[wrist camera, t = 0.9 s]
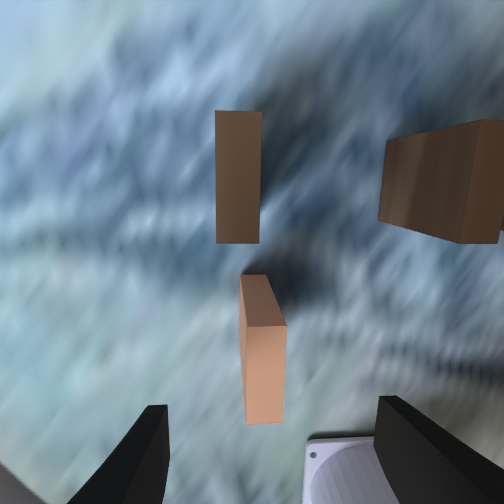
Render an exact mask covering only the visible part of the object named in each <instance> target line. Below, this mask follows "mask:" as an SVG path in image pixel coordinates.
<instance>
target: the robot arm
mask: <svg viewBox="0 0 504 504" xmlns="http://www.w3.org/2000/svg"><path fill="white" fill-rule="evenodd" d="M312 452H314V453H312ZM169 460H170V445H169V426H168V407H167V405H148V406H147V407H146V408H145V409H144V411H143V412H142V414H141V415H140V416H139V418H138V419H137V421H136V422H135V423H134V425H133V426H132V427H131V429H130V430H129V431H128V433H127V434H126V435H125V437H124V438H123V439H122V440H121V442H120V443H119V444H118V445H117V447H116V448H115V449H114V450H113V452H112V453H111V454H110V455H109V457H108V458H107V459H106V460H105V461H104V463H103V464H102V465H101V466H100V467H99V468H98V470H97V471H96V472H95V473H94V474H93V475H92V476H91V478H90V479H89V480H88V481H87V482H86V483H85V484H84V485H83V487H82V488H81V489H80V490H79V491H78V492H77V493H76V494H75V495H74V496H73V497H72V498H71V500H70V501H69V502H68V503H67V504H162V501H163V497H164V493H165V487H166V481H167V474H168V467H169ZM302 504H504V469H502V468H501V467H499V466H497V465H496V464H494V463H493V462H491V461H490V460H488V459H487V458H485V457H484V456H482V455H481V454H479V453H477V452H476V451H474V450H473V449H472V448H470V447H469V446H467V445H466V444H464V443H463V442H461V441H460V440H458V439H457V438H456V437H454V436H453V435H451V434H450V433H448V432H447V431H446V430H444V429H443V428H441V427H440V426H439V425H437V424H436V423H434V422H433V421H432V420H430V419H429V418H428V417H426V416H425V415H423V414H422V413H421V412H419V411H418V410H417V409H415V408H414V407H412V406H411V405H410V404H408V403H407V402H405V401H404V400H402V399H401V398H399V397H398V396H396V395H395V396H379V402H378V410H377V418H376V426H375V434H374V436H370V437H351V438H331V439H312V440H309V441H308V442H307V443H306V449H305V464H304V479H303V494H302Z"/></svg>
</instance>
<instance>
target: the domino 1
mask: <svg viewBox="0 0 504 504" xmlns="http://www.w3.org/2000/svg"><path fill="white" fill-rule="evenodd" d="M261 136H262V112H248V111H218V110H215V161H216V244H259V226H260V181H261Z"/></svg>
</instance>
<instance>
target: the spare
mask: <svg viewBox="0 0 504 504" xmlns="http://www.w3.org/2000/svg"><path fill="white" fill-rule="evenodd" d="M286 337H287V325H286V322H285V320H284V317H283V315H282V313H281V310H280V308H279V305H278V303H277V300H276V298H275V295H274V293H273V291H272V288H271V286H270V283H269V281H268V278H267V276H266V274H260V275H240V355H241V368H242V380H243V393H244V405H245V418H246V425H250V424H272V423H283V403H284V381H285V359H286Z"/></svg>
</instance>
